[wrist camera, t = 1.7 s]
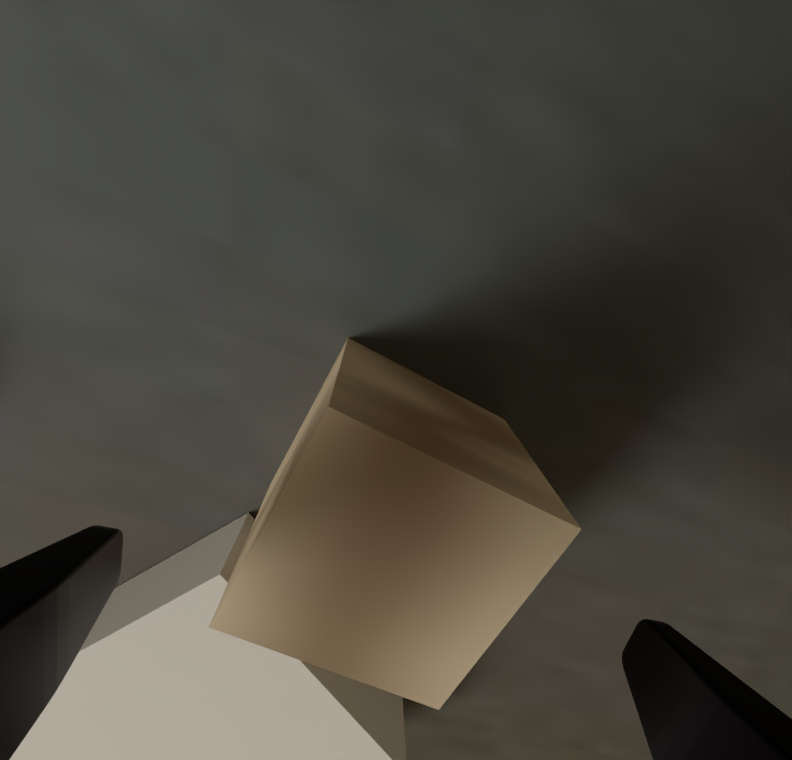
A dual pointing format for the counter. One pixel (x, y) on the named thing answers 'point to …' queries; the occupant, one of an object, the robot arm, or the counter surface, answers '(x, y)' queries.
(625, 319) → the counter surface
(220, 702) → the base
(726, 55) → the counter surface
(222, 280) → the counter surface
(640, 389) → the counter surface
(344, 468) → the cube
